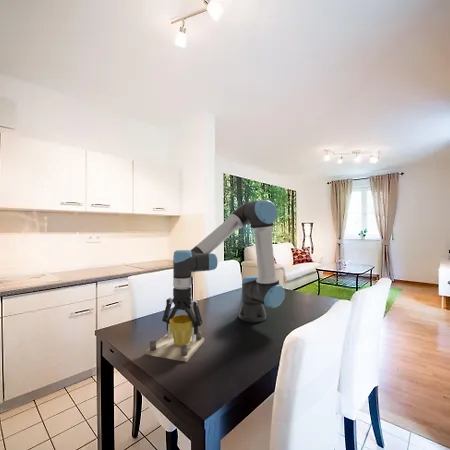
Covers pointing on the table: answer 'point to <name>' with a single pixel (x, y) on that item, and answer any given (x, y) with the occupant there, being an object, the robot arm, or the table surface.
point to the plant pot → (181, 329)
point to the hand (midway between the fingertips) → (182, 340)
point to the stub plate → (174, 348)
